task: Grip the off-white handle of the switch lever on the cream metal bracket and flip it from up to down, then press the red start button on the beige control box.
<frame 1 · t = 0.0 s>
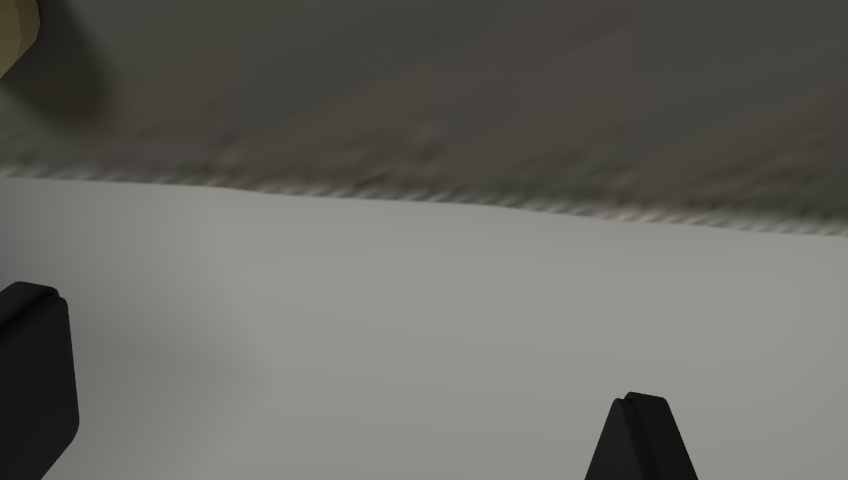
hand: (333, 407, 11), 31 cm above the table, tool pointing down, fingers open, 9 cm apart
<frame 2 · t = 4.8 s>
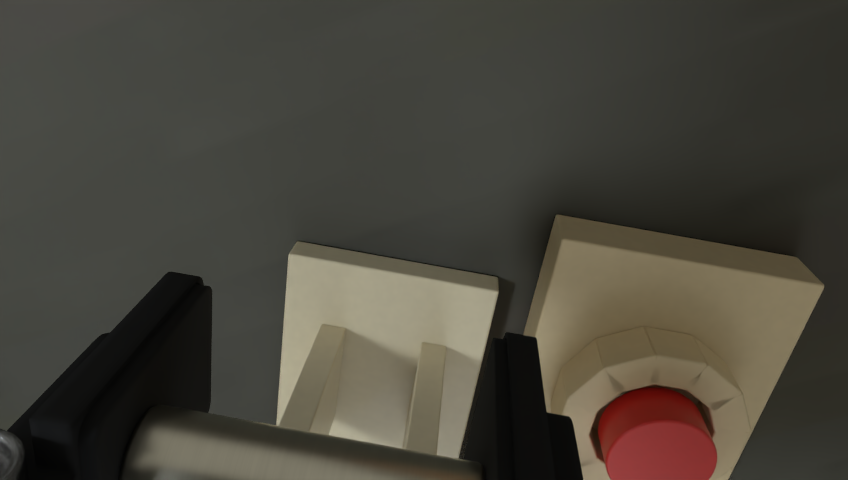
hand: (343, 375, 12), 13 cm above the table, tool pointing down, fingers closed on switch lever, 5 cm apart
switch bracket: (381, 361, 27), on the table
start button: (655, 444, 22), point 4 cm above the table, slide at 0.1 cm
control box: (628, 365, 26), on the table
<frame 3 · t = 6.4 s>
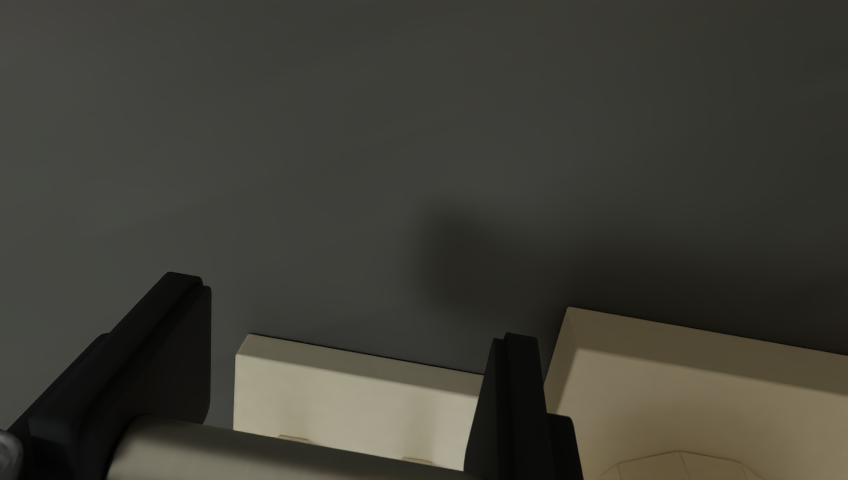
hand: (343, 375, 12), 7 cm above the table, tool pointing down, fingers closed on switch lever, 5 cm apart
switch bracket: (355, 469, 22), on the table
control box: (653, 478, 21), on the table
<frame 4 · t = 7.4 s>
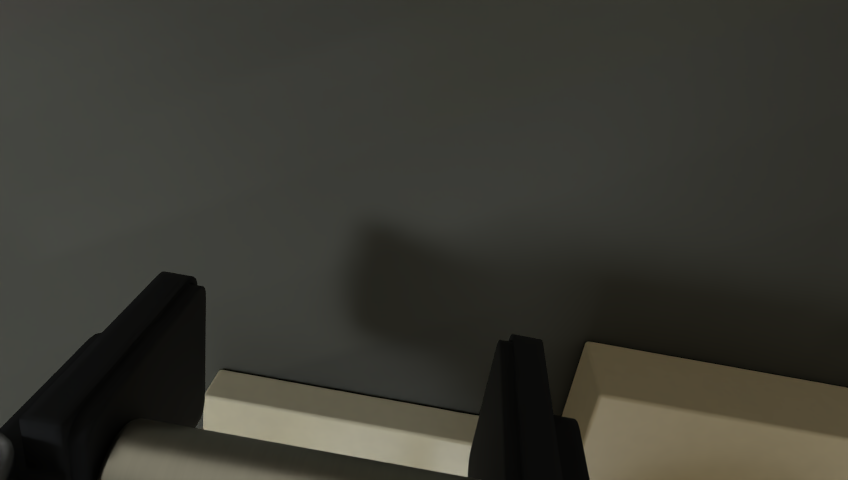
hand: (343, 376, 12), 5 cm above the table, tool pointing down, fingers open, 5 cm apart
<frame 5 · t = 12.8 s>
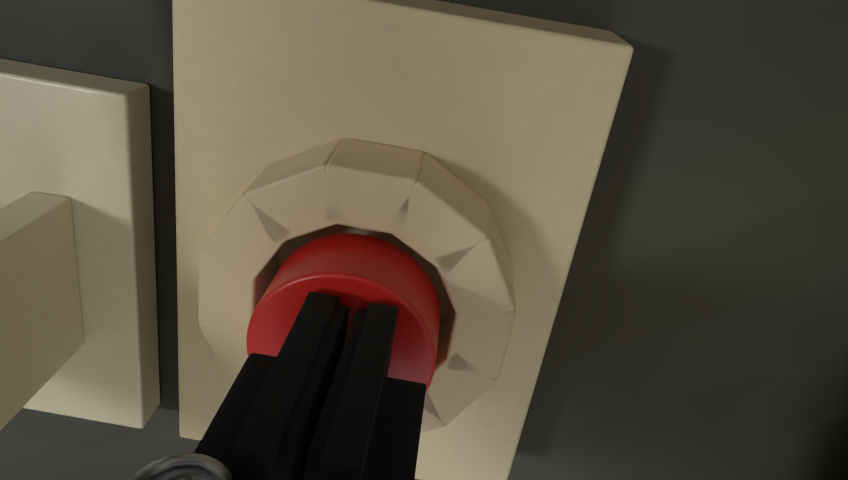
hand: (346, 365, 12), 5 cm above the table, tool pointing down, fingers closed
switch bracket: (14, 238, 18), on the table
start button: (348, 331, 13), point 4 cm above the table, slide at 0.1 cm, touching gripper
control box: (379, 236, 17), on the table
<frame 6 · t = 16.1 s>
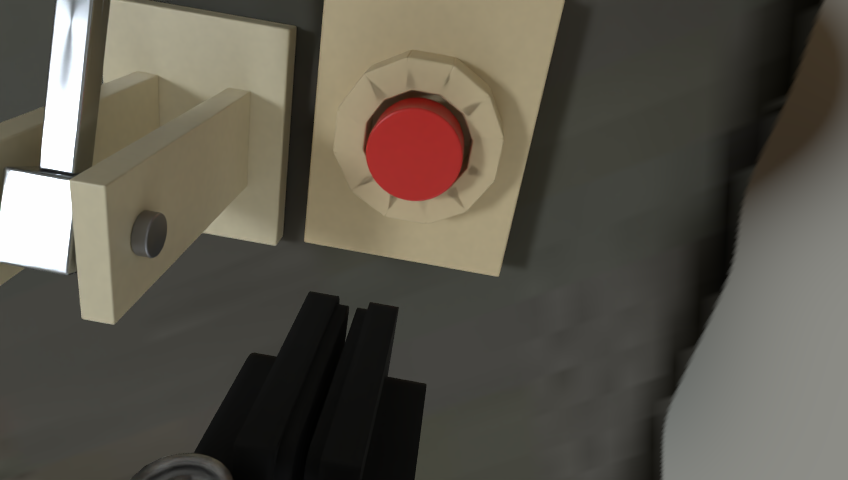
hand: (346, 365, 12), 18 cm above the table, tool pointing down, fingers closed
switch bracket: (204, 123, 29), on the table
start button: (416, 149, 24), point 5 cm above the table, slide at 0.1 cm
control box: (425, 119, 28), on the table
switch lever: (77, 62, 19), point 10 cm above the table, hinge at -18.7°
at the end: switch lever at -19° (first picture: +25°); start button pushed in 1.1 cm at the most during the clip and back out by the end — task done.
